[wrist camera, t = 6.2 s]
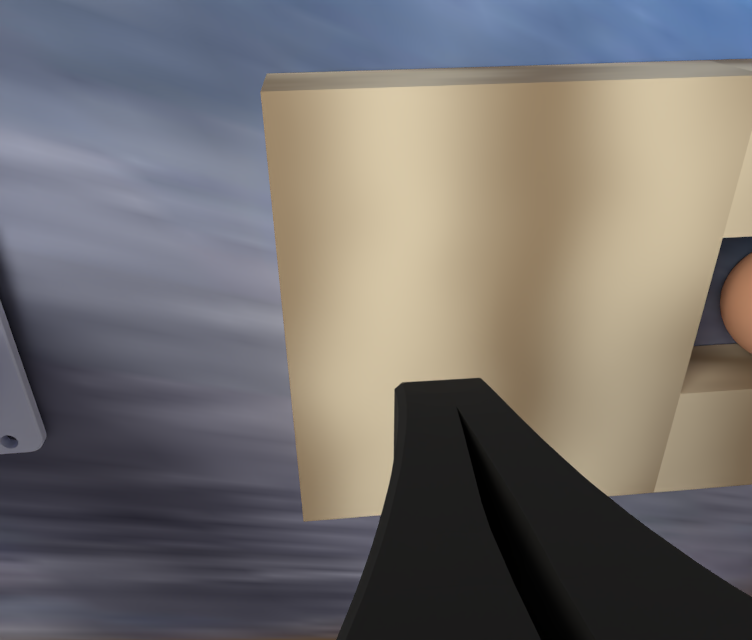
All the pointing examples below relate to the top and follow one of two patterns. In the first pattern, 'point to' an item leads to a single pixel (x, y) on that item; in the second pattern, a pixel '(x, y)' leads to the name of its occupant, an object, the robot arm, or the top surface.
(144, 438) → the top surface
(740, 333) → the ball
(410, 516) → the robot arm
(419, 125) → the beige flat board
